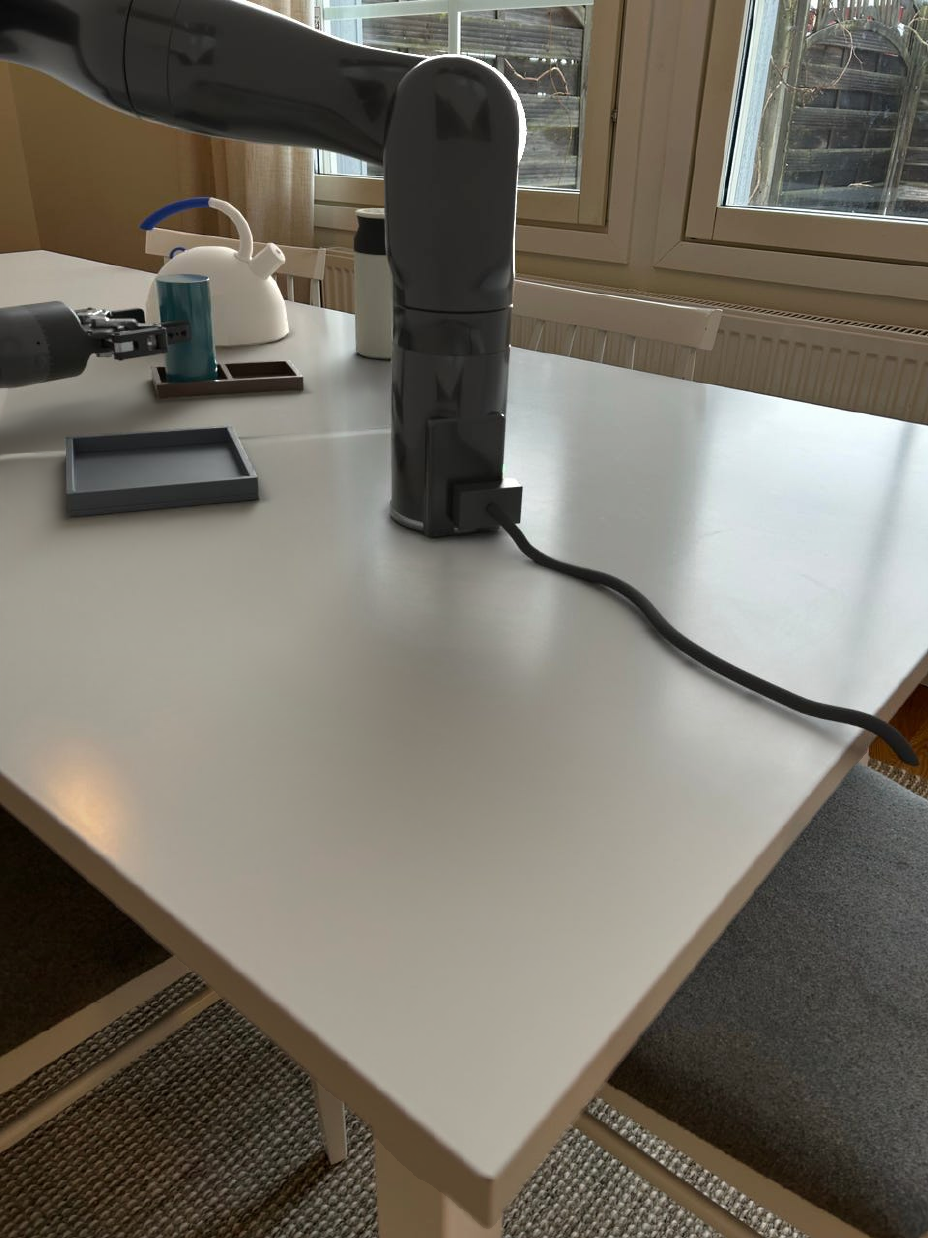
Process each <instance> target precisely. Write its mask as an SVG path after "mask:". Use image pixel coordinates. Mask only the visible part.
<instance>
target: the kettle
mask: <svg viewBox="0 0 928 1238" xmlns="http://www.w3.org/2000/svg"><path fill="white" fill-rule="evenodd" d="M196 208H212V209H215V210H218V211H221V212H222V213H223V214H225V215H226V216H228V217H229V219H230V220H231V221H232V223H233V224H234V226H235V227H236V230H237V233H238V237H239V247H238V250H236V249H233V248H230V247H227V246H218V245H217V246H215V245H209V246H208V245H205V246H196V247H192V248H191V249H190V248H189V249H188V250H187V248H185V247H184V246H177V247H174V248H173V249H172V250H171V251H170V253H169V261H168V262H167V263H165V264H164V265H163V266H162V267H161V268H160V270H159V271H158V272H157V274H156V275H155V277H154V279H153V280H152V281H151V284H150V288H149V290H148V295H147V298H146V301H145V322H146V323H160V320H159V311H158V302H157V293H156V285H155V278H156V277H158V276H162V275H170V274H195V275H203V276H207V277H208V278H209V282H210V294H211V305H212V316H213V328H214V339H215V347H232V346H234V347H235V346H253V345H254V346H255V345H257V346H258V345H264V344H270V343H274V342H277V341H279V340H281V339H284V338H285V337H286V336H287V335H288V333H289V332H290V328H289V322H288V316H287V307H286V302H285V300H284V297H283V295H282V293H281V290H280V288H279V286H278V284H277V282H276V281H275V280H274V277H272V275H273V274H274V273H275V272H276V271H277V270H278V269H279V268H280V267H281V266H282V265H285V263H286V256H285V254H284V253H283V251H282V249H281V248H280V247H279V246H278V245H276V244H275V243H273V242H267V244H266V246H265V247H263V249H262V250H260V251H259V252H258V253H257V254H256V255H254V257H252V256H253V251H254V242H253V241H254V240H253V239H254V238H253V234H252V231H251V227H250V226H249V223H248V221H247V220H246V219H245V217H244V216H243V215H242V213H241V212H240V211H239V210H238V209H237V208H235V207H234V206H233V205H232V204H230V203H229V202H228V201H225V200H221V199H218V198H214V197H212V196H202V197H192V198H186V199H181V200H178V201H175V202H172V203H169V204H166V205H164V206H162V207H161V208H159V209H157V210H155V211H154V212H153V213H151V214H150V215H148V216H147V217H146V218H145V219H144V220H143V221H142V222H141V223H140V225H139V228H140V229H141V230H143V231H149V232H150V231H153V230H154V228H155V227H157V226H158V224H159V223H160V222H162V221H164V220H165V219H167V218H169V217H171V216H172V215H175V214H177V213H180V212H183V211H187V210H191V209H196ZM177 251H182V252H181V253H178V254H176V255H175V256H174V254H175V253H176V252H177Z"/></svg>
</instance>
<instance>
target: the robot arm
mask: <svg viewBox="0 0 928 1238" xmlns="http://www.w3.org/2000/svg"><path fill="white" fill-rule="evenodd" d="M0 61H1V62H6V63H12V64H16V65H19V66H24V67H27V68H30V69H33V70H35V71H38V72H41V73H43V74H46V75H48V76H49V77H51V78H53V79H55V80H56V81H59V82H61V83H63V84H64V85H66V86H67V87H69V88H71V89H72V90H73V91H76V92H77V93H79V94H81V95H83V96H85V97H86V98H88V99H90V100H92V101H93V102H95V103H97V104H100V105H102V106H103V107H105V108H108V109H111V110H113V111H115V112H117V113H120V114H124V115H126V116H129V117H131V118H135V119H139V120H142V121H145V122H149V123H153V124H156V125H161V126H164V127H168V128H173V129H176V130H179V131H182V132H187V133H190V134H196V135H200V136H204V137H205V136H206V137H209V138H216V139H221V140H228V141H234V142H241V143H249V144H258V145H265V146H266V145H269V146H277V147H289V148H290V147H291V148H303V149H312V150H319V151H325V152H329V153H335V154H339V155H342V156H346V157H350V158H353V159H356V160H359V161H361V162H365V163H368V164H370V165H373V166H376V167H379V168H382V169H383V171H382V172H383V208H384V215H385V248H386V257H387V263H388V267H389V271H390V276H391V299H392V301H391V359H390V469H391V470H390V476H391V478H390V480H391V481H390V484H391V485H390V486H391V488H390V489H391V491H390V492H391V493H390V494H391V495H390V496H391V498H390V501H389V513H390V517H392V519H393V520H394V521H395V522H397V523H399V525H402V526H403V527H406V528H408V529H412V530H415V531H419V532H422V533H424V534H425V535H426V537H428V538H437V537H444V536H452V535H453V536H454V535H462V534H471V533H480V532H488V531H496V530H497V531H498V530H500V529H501V528H502V529H503V530H504V531H505V532H506V533H507V534H508V535H509V536H510V537H511V539H512V540H513V542H514V543H515V544H516V546H517V548H518V549H519V550H520V552H521V553H522V554H523V555H524V556H525V557H528V558H529V559H530V560H532V561H533V562H535V563H536V564H538V565H540V566H542V567H546V568H548V569H549V570H554V571H556V572H559V573H562V574H565V575H567V576H571V577H574V578H577V579H580V580H585V581H589V582H592V583H596V584H599V585H602V586H605V587H606V588H609V589H612V590H613V591H614V592H615V591H616V592H617V593H619V594H620V595H621V596H623V597H625V598H626V599H627V600H628V601H630V602H631V603H632V604H633V605H635V606H636V608H638V610H640V612H641V613H642V614H643V615H644V617H645V618H646V619H647V620H648V621H649V622H650V624H651V625H652V626H653V627H654V628H655V629H656V631H657V632H658V633H659V634H660V635H662V637H663V638H664V639H665V640H667V641H668V642H669V643H670V644H671V645H673V646H674V647H675V648H677V649H678V650H679V651H680V652H682V653H683V654H685V655H687V656H688V657H690V658H691V659H693V660H694V661H696V662H698V663H699V664H701V665H702V666H704V667H706V668H708V669H710V670H711V671H712V672H715V673H716V674H719V675H720V676H722V677H725V678H726V679H728V680H730V681H732V682H734V683H736V684H737V685H739V686H742V687H744V688H746V689H748V690H750V691H752V692H754V693H757V694H758V695H760V696H762V697H764V698H767V699H769V700H771V701H774V702H775V703H777V704H780V705H782V706H784V707H787V708H788V709H791V710H793V711H795V712H797V713H800V714H803V715H806V716H809V717H814V718H817V719H821V720H825V721H831V722H836V723H840V724H843V725H849V726H854V727H857V728H860V729H863V730H866V731H868V732H870V733H872V734H874V735H876V736H877V737H879V738H880V739H881V740H882V741H884V742H885V743H886V744H887V745H888V746H889V747H890V748H891V749H892V751H893V752H894V753H895V755H896V756H897V758H898V760H899V761H901V762H902V763H903V764H905V765H908V766H910V767H918V766H920V765H921V764H920V761H919V758H918V756H917V754H916V752H915V750H914V748H913V747H912V746H911V744H910V743H909V742H908V740H907V739H906V738H905V737H904V736H903V735H902V733H901V732H900V731H899V730H897V729H896V727H894V726H893V725H891V724H890V723H888V722H886V721H885V720H883V719H881V718H880V717H877V716H875V715H873V714H871V713H868V712H864V711H860V710H858V709H852V708H849V707H844V706H838V705H832V704H828V703H824V702H818V701H815V700H812V699H809V698H806V697H803V696H801V695H799V694H796V693H794V692H792V691H790V690H787V689H786V688H783V687H781V686H778V685H776V684H774V683H772V682H769V681H768V680H766V679H763V678H761V677H759V676H757V675H755V674H753V673H750V672H749V671H746V670H744V669H742V668H741V667H738V666H736V665H735V664H732V663H730V662H728V661H727V660H725V659H722V658H720V657H719V656H717V655H715V654H714V653H712V652H710V651H709V650H707V649H705V648H704V647H702V646H701V645H699V644H698V643H696V642H694V641H693V640H692V639H689V638H688V637H686V636H685V635H684V634H682V632H680V631H679V630H677V629H676V628H675V627H674V626H673V625H672V624H671V623H670V622H668V620H667V619H666V618H665V617H664V616H663V614H661V612H660V611H659V610H658V609H657V607H655V605H654V604H653V603H652V602H651V601H650V599H648V598H647V597H646V596H645V595H644V594H643V593H642V592H640V591H639V590H638V589H637V588H636V587H634V586H632V585H631V584H629V583H628V582H626V581H624V580H622V579H621V578H619V577H618V576H615V575H612V574H609V573H607V572H603V571H600V570H595V569H592V568H589V567H585V566H584V567H583V566H579V565H574V564H571V563H567V562H563V561H561V560H558V559H556V558H553V557H552V556H549V555H547V554H546V553H543V552H542V551H540V550H539V549H537V548H536V547H535V546H533V545H532V544H531V542H529V540H528V539H527V537H526V536H525V534H524V533H523V531H522V529H520V527H518V525H519V524H521V519H522V505H523V493H524V492H523V491H524V490H523V489H524V486H523V485H522V484H521V483H520V482H519V481H518V480H516V479H515V478H513V477H508V478H504V471H505V463H504V462H505V461H504V460H505V445H506V429H507V412H508V411H507V410H508V392H509V377H510V376H509V375H510V360H511V344H512V330H513V329H512V328H513V311H514V310H513V309H514V305H513V304H514V295H515V280H516V279H515V278H516V270H515V269H516V268H515V234H516V233H515V232H516V216H517V215H516V213H517V196H518V195H517V194H518V178H519V177H518V176H519V162H520V160H521V159H522V155H523V152H524V150H525V149H524V148H525V144H526V136H527V131H526V130H527V126H526V118H525V112H524V109H523V106H522V102H521V100H520V97H519V96H518V93H517V91H516V90H515V89H514V87H513V86H512V84H511V83H510V81H509V80H508V79H507V78H506V77H505V76H504V75H503V74H502V73H501V72H500V71H499V70H497V68H495V67H492V65H490V64H488V63H486V62H484V61H482V60H480V59H476V58H474V57H471V56H467V55H463V54H442V55H436V56H425V55H419V54H412V53H405V52H400V51H393V50H389V49H383V48H376V47H371V46H368V45H363V44H358V43H355V42H353V41H352V42H351V41H348V40H345V39H341V38H339V37H336V36H334V35H331V34H328V33H325V32H323V31H321V30H318V29H316V28H314V27H312V26H309V25H307V24H305V23H303V22H300V21H298V20H296V19H294V18H291V17H288V16H286V15H284V14H281V13H279V12H276V11H274V10H272V9H269V8H266V7H264V6H261V5H259V4H257V3H254V2H251V1H249V0H0ZM149 337H150V342H149V341H148V338H149ZM190 340H191V327H190V322H189V321H187V320H183V319H182V320H175V321H169V322H163V323H146V313H145V311H144V309H143V308H140V307H132V308H126V309H125V308H124V309H117V310H109V309H106V308H101V309H96V308H95V307H94V308H93V307H87V308H81V309H75V310H74V309H73V308H71V306H70V305H68V304H67V303H64V302H62V301H59V300H53V301H43V302H38V303H37V302H36V303H29V304H21V305H13V306H6V307H5V306H4V307H0V389H15V388H17V389H18V388H23V387H28V386H33V385H38V384H44V383H50V382H54V381H60V380H65V379H70V378H76V377H79V376H81V375H82V374H83V373H84V372H85V370H86V369H87V366H88V361H89V359H90V357H91V355H95V357H96V358H111V357H113V358H114V360H116V361H119V362H120V361H124V360H129V359H130V360H131V359H136V358H142V357H147V356H148V357H149V356H156V355H163V354H165V353H167V352H169V351H168V345H170V344H176V343H181V342H187V341H190ZM500 527H501V528H500Z"/></svg>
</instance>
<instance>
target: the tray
mask: <svg viewBox="0 0 928 1238" xmlns="http://www.w3.org/2000/svg"><path fill="white" fill-rule="evenodd" d="M244 449H245V448H244V447H243V445H242V443H241V441H240V438H239V437H238V435H237V433H236V431H235V429H234V427H233V425H231V424H230V425H217V426H215V425H214V426H202V427H201V426H200V427H188V428H187V427H186V428H174V429H173V428H172V429H159V430H145V431H144V430H141V431H130V432H115V433H113V432H112V433H101V434H85V435H83V434H82V435H71V436H70V435H69V436H65V497H66V503H67V509H68V513H69V517H70V518H73V517H75V518H76V517H84V516H85V517H86V516H94V515H105V514H106V515H107V514H117V513H118V514H119V513H126V512H127V513H128V512H139V511H149V510H158V509H159V510H160V509H170V508H180V507H181V508H182V507H192V506H200V505H211V504H223V503H234V502H241V501H242V502H244V501H254V500H260V493H259V492H260V489H259V477H258V476H257V473H256V471H255V469H254V468H253V465H252V463H251V461H250V459H249V457H248V455H247V453H246V451H245V450H244Z"/></svg>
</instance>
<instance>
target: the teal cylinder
mask: <svg viewBox="0 0 928 1238" xmlns="http://www.w3.org/2000/svg"><path fill="white" fill-rule="evenodd" d="M155 277H156V276H155ZM155 277H154V279H155V285H156V293H157V302H158V311H159V320H160V323H163V322H169V321H175V320H182V319H183V320H187V321H189V322H190V327H191V340H190V341H187V342H181V343H176V344H170V345H168V351H169V352H167V353H165V354H162V355H163V364H164V366H165V372H166V381H167V383H172V382H191V381H210V380H218V373H217V363H218V361H217V353H216V346H215V339H214V328H213V316H212V305H211V294H210V282H209V278H208V277H207V276H203V275H195V274H170V275H162V276H158V277H156V278H155Z"/></svg>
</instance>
